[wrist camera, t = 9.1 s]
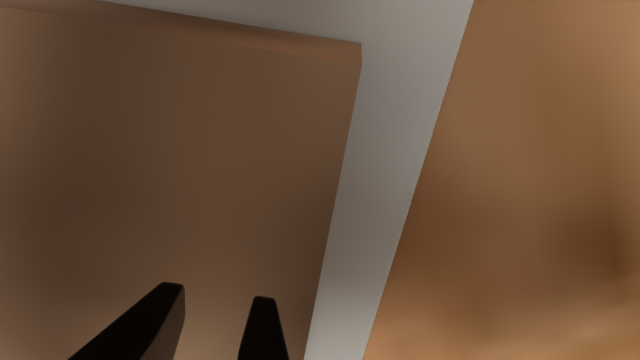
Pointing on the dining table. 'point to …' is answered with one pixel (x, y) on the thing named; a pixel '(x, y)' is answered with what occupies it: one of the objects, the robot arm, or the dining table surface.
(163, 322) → the robot arm
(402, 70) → the underlay
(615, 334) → the dining table surface
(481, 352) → the dining table surface
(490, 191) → the dining table surface
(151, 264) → the plank
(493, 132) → the dining table surface
